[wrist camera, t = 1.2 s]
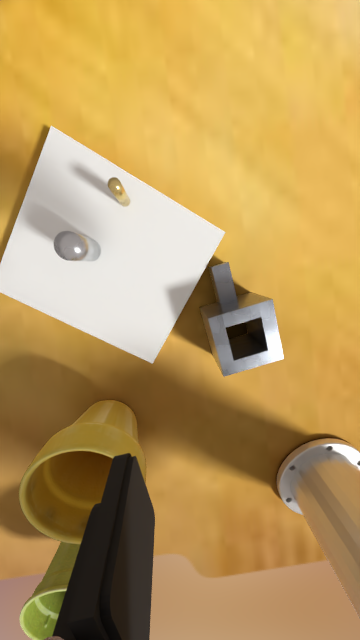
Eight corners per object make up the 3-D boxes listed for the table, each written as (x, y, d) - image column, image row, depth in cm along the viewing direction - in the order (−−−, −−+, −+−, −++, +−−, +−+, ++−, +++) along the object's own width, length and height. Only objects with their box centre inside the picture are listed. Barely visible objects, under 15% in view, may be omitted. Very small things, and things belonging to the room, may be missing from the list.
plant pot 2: (64, 383, 27) (9, 448, 17) (152, 385, 28) (145, 449, 18) (69, 455, 29) (22, 547, 20) (149, 456, 30) (142, 544, 20)
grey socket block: (260, 340, 27) (283, 358, 22) (212, 354, 27) (223, 376, 22) (242, 256, 25) (263, 254, 19) (189, 272, 25) (196, 275, 19)
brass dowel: (131, 198, 21) (123, 181, 17) (127, 208, 22) (117, 194, 17) (122, 192, 21) (110, 174, 17) (117, 203, 21) (105, 187, 17)
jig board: (222, 233, 24) (225, 232, 23) (153, 359, 27) (152, 363, 26) (57, 133, 21) (51, 125, 20) (-1, 286, 24) (-9, 288, 23)
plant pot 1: (128, 504, 32) (114, 590, 23) (121, 553, 34) (107, 648, 25) (59, 499, 31) (19, 588, 22) (56, 550, 33) (19, 648, 24)
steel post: (104, 245, 22) (87, 240, 17) (95, 265, 23) (76, 265, 18) (83, 233, 22) (60, 225, 17) (74, 254, 22) (49, 251, 17)
